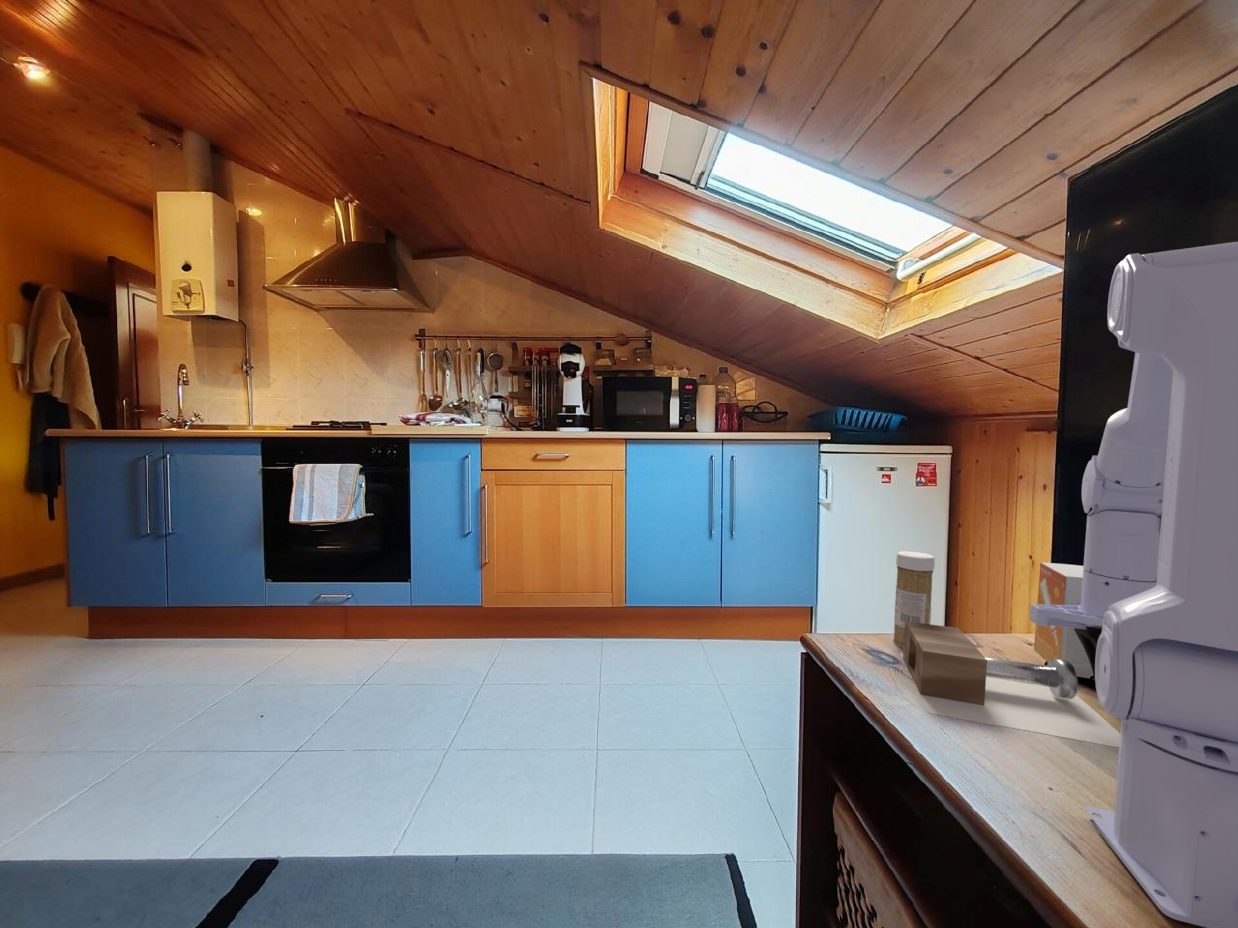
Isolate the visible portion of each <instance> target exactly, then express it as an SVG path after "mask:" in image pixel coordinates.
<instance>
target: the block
mask: <svg viewBox="0 0 1238 928" xmlns="http://www.w3.org/2000/svg"><path fill="white" fill-rule="evenodd" d="M902 653H903V658H902V660H903V663H904V664H906V665H905V666H907V667H906V668H908V669H907V671H908V670H909V671H908V673H909V672H910V673H909V674H911V675H910V676H912V677H911V679H912V678H913V679H912V681H913V680H914V681H913V683H914V682H915V683H914V684H916V685H915V687H916V686H917V687H916V689H917V688H918V689H917V691H918V690H919V691H918V693H919V692H920V693H919V695H920V694H921V695H925V696H931V697H937V698H943V699H949V700H954V701H960V702H966V703H972V704H978V705H983V706H984V701H985V686H986V671H987V659H986V658H985V657H986V656H984V655H983V654H982V652H981V651H980V650H979V649H978V648H977V647H976V646H975V645H974V643H973V642H972V641H971V640H970V639H969V638H968V637H967V636H966V634H965V633H964V632H963V631H962V630H961V628H959V627H952V626H945V625H937V624H931V623H930V624H923V623H916V622H908V621H905V630H904V647H903V650H902ZM921 695H920V696H921Z"/></svg>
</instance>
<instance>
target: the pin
mask: <svg viewBox="0 0 1238 928" xmlns="http://www.w3.org/2000/svg"><path fill="white" fill-rule="evenodd" d="M984 657H985V658H986V659H987V671H986V677H989V678H995V679H1002V680H1008V681H1014V682H1021V683H1027V684H1034V685H1040V686H1046V687H1049V689H1050V691H1051V692H1052V694H1053V695H1054V696H1056V697H1061V698H1068V699H1073V698H1074V697H1075V696H1076V695H1077V693H1078V685H1079V684H1078V676H1076V672H1075V669H1074V667H1073V665H1072V664H1071V663H1070V662H1069V661H1067V660H1060V659H1053V658H1052V659H1050V660H1049V661H1048V662H1047V664H1046V665H1044V664H1043V665H1042V664H1036V663H1028V662H1022V661H1015V660H1009V659H1001V658H996V657H995V658H994V657H989V656H984Z"/></svg>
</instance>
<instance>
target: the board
mask: <svg viewBox="0 0 1238 928" xmlns="http://www.w3.org/2000/svg"><path fill="white" fill-rule="evenodd" d="M899 654H900V656H901V658H902V659H903V652H899ZM904 664H905V663H904ZM905 666H906V664H905ZM905 668H907V666H906V667H905ZM907 671H908V673H909V674H910V672H909V670H908V668H907ZM910 676H911V674H910ZM911 679H912V681H913V683H914V684H915V682H914V680H913V678H912V676H911ZM915 687H916V689H917V691H918V693H919V695H920V696H921V698H922V701H923V703H924V705H925V706H926V709H927V711H928V713H929V714H931V715H932V714H933V715H937V716H942V717H943V716H944V717H949V718H954V719H960V720H966V721H971V722H976V723H981V724H987V725H993V726H996V727H997V726H998V727H1002V728H1003V727H1004V728H1009V729H1015V730H1020V731H1025V732H1031V733H1036V734H1042V735H1048V736H1053V737H1059V738H1064V739H1069V740H1074V741H1075V740H1076V741H1081V742H1086V743H1090V744H1091V743H1092V744H1097V745H1104V746H1108V747H1113V748H1118V749H1119V744H1120V732H1119V731H1118V730H1117V729H1116V728H1115V727H1113V726H1112V725H1111V724H1110V723H1109V722H1108V721H1107V720H1105V719H1104V718H1103V717H1102V716H1101V715H1100V714H1099V713H1098V712H1097V711H1096V710H1095V709H1093V708H1092V707H1091V706H1090V705H1089V704H1088V703H1087V702H1085V700H1083V699H1082V698H1081V697H1079V695H1077V694H1076V696H1075V697H1074V698H1073V699H1068V698H1061V697H1056V696H1054V695H1053V694H1052V692H1051V691H1050V689H1049V687H1046V686H1040V685H1034V684H1027V683H1021V682H1014V681H1008V680H1002V679H995V678H989V677H986V686H985V701H984V706H983V705H978V704H972V703H966V702H960V701H954V700H949V699H943V698H937V697H931V696H925V695H921V694H920V692H919V690H918V688H917V686H916V684H915Z"/></svg>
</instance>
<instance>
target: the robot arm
mask: <svg viewBox="0 0 1238 928" xmlns="http://www.w3.org/2000/svg"><path fill="white" fill-rule="evenodd" d="M1106 315H1107V317H1106V319H1107V327H1108V330H1109V331H1110V332H1111V333H1112V334H1113V335H1114V336H1115V337H1116V338H1117V341H1118V347H1120V348H1122V349H1124V350H1127V351H1131V352H1133V353H1134V359H1133V366H1132V367H1133V369H1132V373H1131V379H1130V380H1131V381H1130V388H1129V393H1128V401H1127V407H1126V408H1123V409H1120V410H1118V411H1116V412H1115V413H1113V414H1111V415H1110V417H1109V418H1108V419H1107V420H1106V421H1107V422H1106V425H1105V428H1104V430H1103V436H1102V437H1101V442H1100V446H1099V449H1098V450H1099V451H1098V454H1097V455H1092V457H1091V460H1089V461H1088V463H1087V465H1086V467H1085V470H1084V473H1083V477H1082V480H1081V482H1082V483H1081V502H1082V507H1083V511H1084V513H1086V514H1087V516H1086V529H1085V530H1086V531H1085V539H1084V540H1085V541H1084V542H1085V543H1084V555H1083V566H1084V567H1083V580H1082V593H1081V606H1074V605H1043V604H1037V603H1030V606H1029V607H1030V609H1029V620H1030V621H1031V623H1033V624H1035V626H1036V625H1039V626H1048V625H1053V626H1061V627H1069V628H1074V630H1075V633H1076V634H1077V636H1078V638H1079V640H1080V641H1081V643H1082V645H1083V647H1084V649H1085V652H1086V654H1087V656H1088V659H1089V662H1090V664H1091V668H1092V671H1093V675H1094V679H1093V680H1094V683H1095V689H1096V690H1095V691H1096V697H1097V700H1098V703H1099V705H1100V706H1101V707H1102V709H1104V710H1105V711H1106V713H1107V714H1108V715H1109V716H1110V717H1111V718H1113V719H1119V720H1120V732H1119V733H1120V744H1119V748H1118V758H1117V761H1118V762H1117V771H1116V774H1117V775H1116V783H1115V797H1114V809H1113V811H1111V810H1107V809H1103V808H1102V809H1101V808H1097V807H1092V806H1085V807H1084V810H1085V811H1086V812H1087V814H1088V815H1089V817H1090V818H1089V821H1090V822H1091V823H1092V825H1093V826H1094V827H1095V828H1096V830H1097V831H1098V833H1099V834H1100V835H1101V836H1102V837H1103V838H1104V840H1105V841H1106V842H1107V844H1108V845H1109V847H1110V848H1111V849H1112V851H1113V852H1114V853H1115V854H1116V855H1117V856H1118V858H1119V859H1120V860H1121V862H1122V863H1123V864H1124V865H1125V867H1126V868H1127V869H1128V871H1129V872H1130V873H1131V874H1132V876H1133V877H1134V878H1135V880H1136V881H1137V883H1139V885H1140V886H1141V888H1143V890H1144V891H1145V893H1146V894H1147V895H1148V896H1149V898H1150V899H1151V900H1152V901H1153V903H1154V904H1155V905H1156V907H1157V908H1158V909H1159V911H1161V913H1163V915H1165V916H1167V917H1169V918H1171V919H1173V920H1176V921H1179V922H1183V923H1187V924H1191V925H1195V926H1199V927H1201V928H1238V241H1232V242H1224V243H1218V244H1217V243H1216V244H1209V245H1204V246H1196V247H1189V248H1181V249H1171V250H1165V251H1159V252H1157V251H1156V252H1153V253H1152V252H1151V253H1143V254H1140V253H1139V252H1138V253H1129V254H1128V255H1126V256H1125V257H1124V259H1122V260H1121V261H1120V262H1119V263H1118V264H1117V265H1116V266H1115V268H1114V270H1113V274H1112V277H1111V281H1110V287H1109V291H1108V301H1107V314H1106ZM1091 509H1092V510H1091ZM1094 814H1095V815H1098V816H1100V817H1097V816H1095V815H1094Z"/></svg>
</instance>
